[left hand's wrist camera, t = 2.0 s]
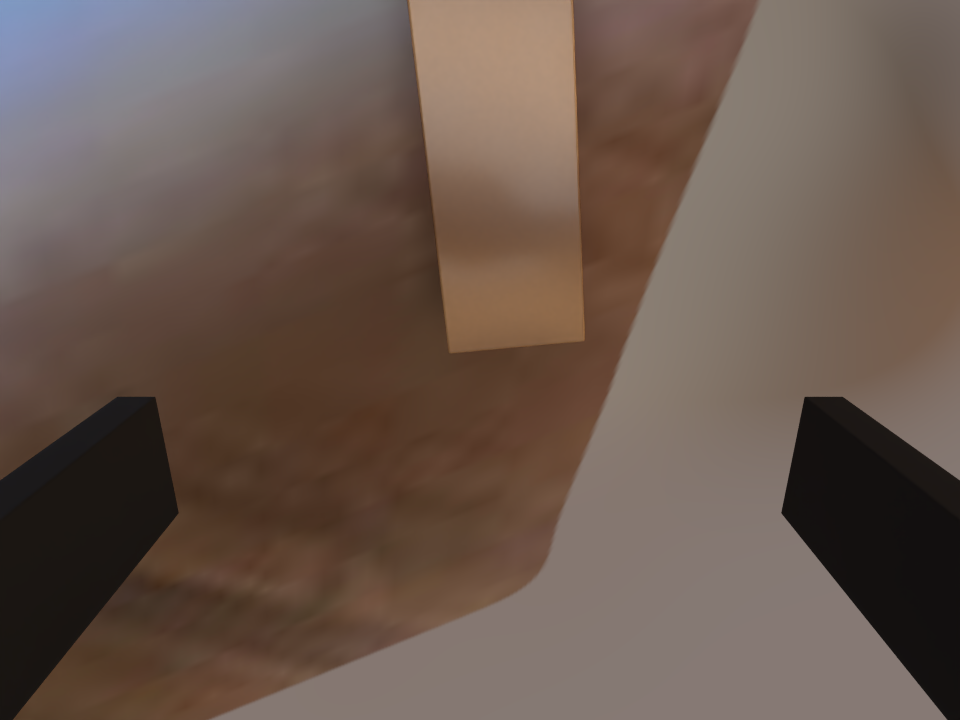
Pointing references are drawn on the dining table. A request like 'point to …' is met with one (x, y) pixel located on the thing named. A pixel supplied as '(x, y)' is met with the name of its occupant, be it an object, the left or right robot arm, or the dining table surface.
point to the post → (502, 168)
